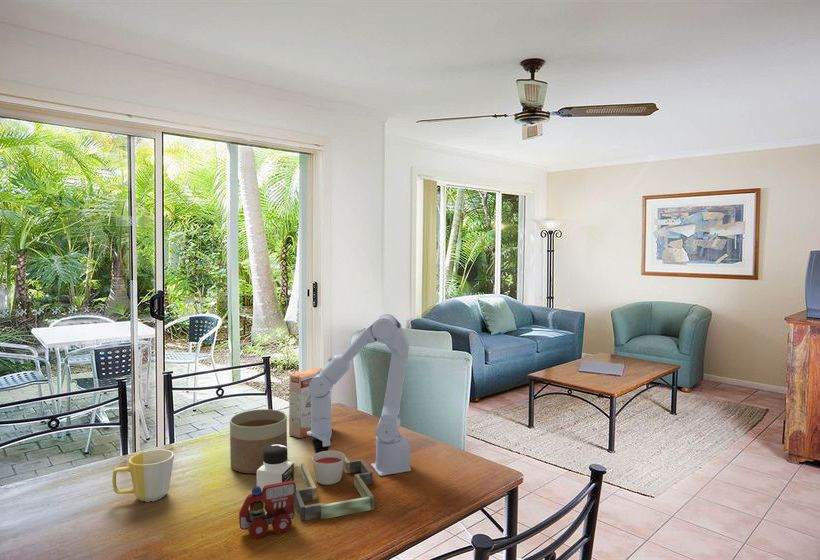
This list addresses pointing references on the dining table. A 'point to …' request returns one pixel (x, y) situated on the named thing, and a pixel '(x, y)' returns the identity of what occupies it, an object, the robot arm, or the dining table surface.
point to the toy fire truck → (268, 509)
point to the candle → (328, 466)
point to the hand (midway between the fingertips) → (321, 461)
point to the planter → (255, 437)
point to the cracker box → (300, 402)
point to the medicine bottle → (275, 466)
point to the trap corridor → (338, 507)
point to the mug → (148, 474)
